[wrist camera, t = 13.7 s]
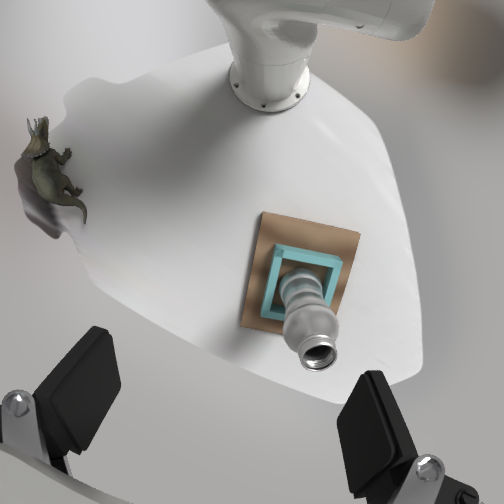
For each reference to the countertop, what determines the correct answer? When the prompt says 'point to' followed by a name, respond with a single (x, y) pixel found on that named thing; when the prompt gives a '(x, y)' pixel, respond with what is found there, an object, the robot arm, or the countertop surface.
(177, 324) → the countertop surface
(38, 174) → the dinosaur figurine
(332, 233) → the walnut jig board
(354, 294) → the countertop surface
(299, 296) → the silver aluminum bottle
